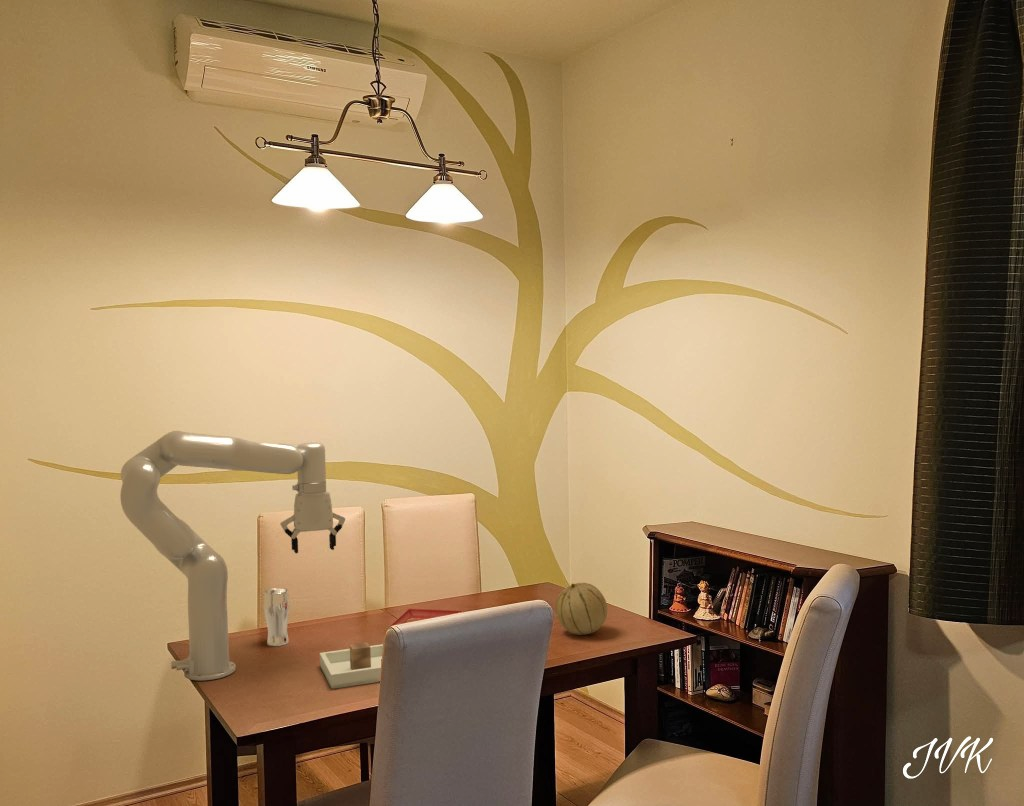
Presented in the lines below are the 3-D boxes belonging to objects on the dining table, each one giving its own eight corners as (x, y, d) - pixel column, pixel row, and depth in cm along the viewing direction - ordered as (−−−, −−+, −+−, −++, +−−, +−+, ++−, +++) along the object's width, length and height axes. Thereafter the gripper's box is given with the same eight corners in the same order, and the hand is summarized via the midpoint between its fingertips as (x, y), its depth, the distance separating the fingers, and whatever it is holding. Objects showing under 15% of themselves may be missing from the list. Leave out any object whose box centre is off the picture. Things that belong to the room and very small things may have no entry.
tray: (331, 689, 214) (331, 674, 214) (320, 666, 231) (319, 652, 230) (404, 678, 220) (403, 664, 220) (387, 656, 237) (387, 643, 237)
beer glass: (294, 639, 254) (292, 587, 254) (285, 646, 247) (283, 594, 247) (270, 639, 255) (268, 587, 254) (261, 646, 248) (259, 594, 247)
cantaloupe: (618, 633, 253) (617, 581, 252) (583, 645, 243) (582, 591, 242) (580, 622, 264) (579, 573, 263) (545, 633, 254) (544, 582, 253)
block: (353, 672, 222) (352, 649, 222) (350, 667, 227) (349, 644, 226) (371, 670, 224) (370, 647, 224) (367, 664, 228) (367, 642, 228)
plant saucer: (448, 639, 252) (447, 628, 252) (388, 636, 256) (388, 625, 256) (464, 621, 270) (464, 610, 270) (408, 619, 273) (408, 608, 273)
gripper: (281, 492, 233) (283, 556, 233) (346, 487, 239) (348, 550, 240) (277, 488, 240) (279, 551, 240) (341, 484, 246) (343, 545, 247)
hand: (314, 550), depth 240 cm, fingers open, 9 cm apart
